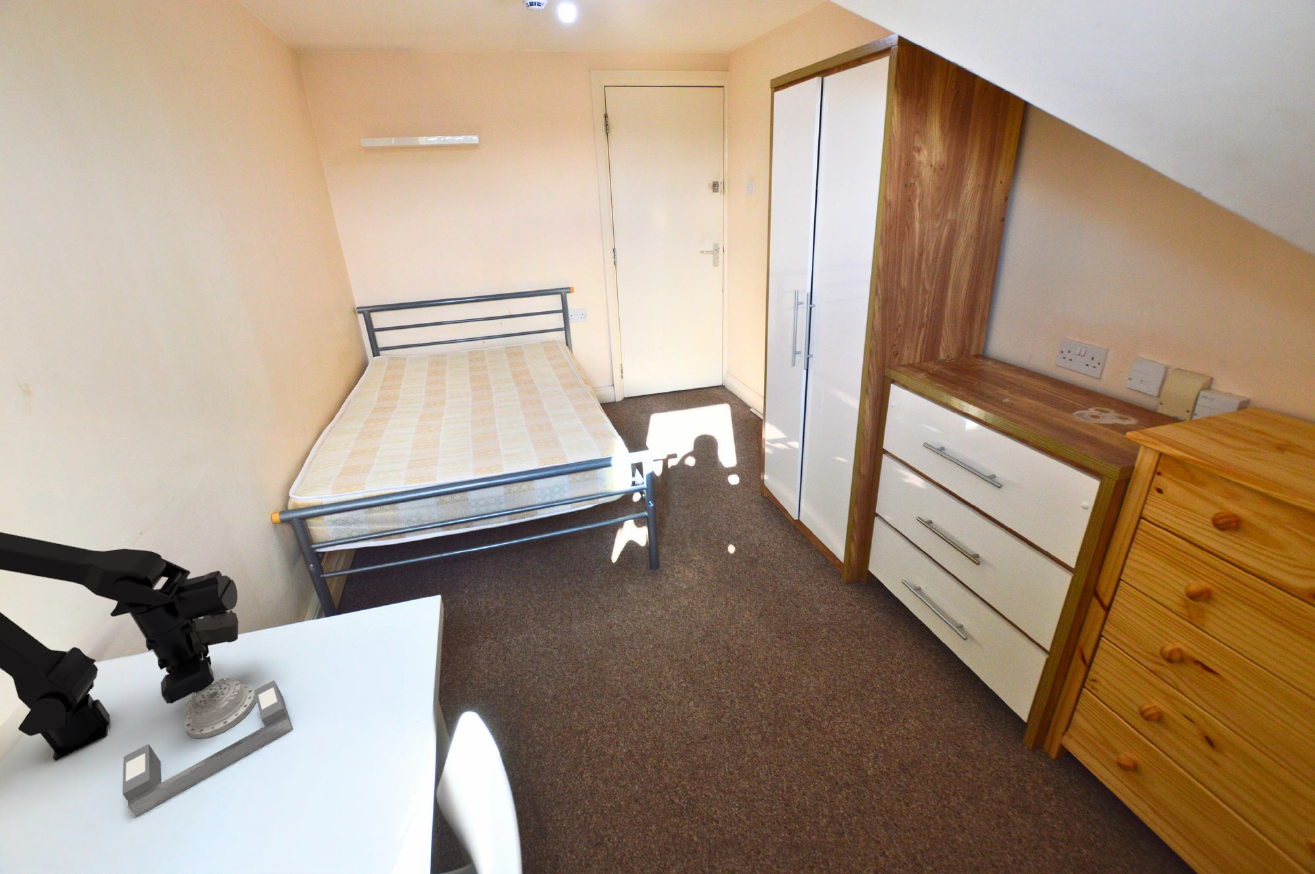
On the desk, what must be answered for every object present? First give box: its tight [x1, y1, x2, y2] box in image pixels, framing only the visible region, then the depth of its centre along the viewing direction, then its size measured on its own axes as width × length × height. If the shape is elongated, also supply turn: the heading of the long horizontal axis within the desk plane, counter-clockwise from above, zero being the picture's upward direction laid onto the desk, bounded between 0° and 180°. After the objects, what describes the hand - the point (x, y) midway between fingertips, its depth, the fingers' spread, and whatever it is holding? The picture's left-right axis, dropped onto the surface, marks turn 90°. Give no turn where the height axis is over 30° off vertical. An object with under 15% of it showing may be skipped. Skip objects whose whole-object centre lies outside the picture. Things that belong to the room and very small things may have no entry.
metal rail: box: [127, 715, 294, 818], centre depth 86 cm, size 20×1×2 cm, turn 131°
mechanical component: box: [183, 677, 257, 739], centre depth 96 cm, size 10×4×10 cm
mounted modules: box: [122, 679, 292, 802], centre depth 89 cm, size 20×8×4 cm, turn 130°
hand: (205, 692), depth 99 cm, fingers closed
